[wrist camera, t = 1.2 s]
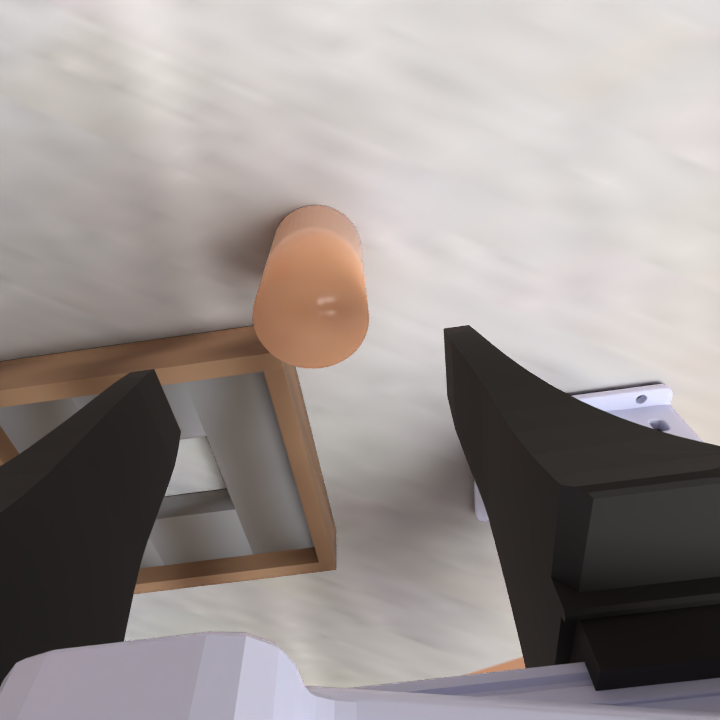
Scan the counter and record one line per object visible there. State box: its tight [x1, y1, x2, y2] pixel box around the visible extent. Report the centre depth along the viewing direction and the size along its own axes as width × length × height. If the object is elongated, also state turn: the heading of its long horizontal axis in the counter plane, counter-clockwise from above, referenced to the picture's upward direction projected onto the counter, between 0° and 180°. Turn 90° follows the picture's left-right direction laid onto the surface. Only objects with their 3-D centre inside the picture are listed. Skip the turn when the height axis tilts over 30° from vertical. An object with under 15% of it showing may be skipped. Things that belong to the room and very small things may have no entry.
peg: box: [253, 205, 369, 368], centre depth 18 cm, size 4×4×6 cm
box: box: [0, 326, 336, 594], centre depth 25 cm, size 14×14×2 cm
